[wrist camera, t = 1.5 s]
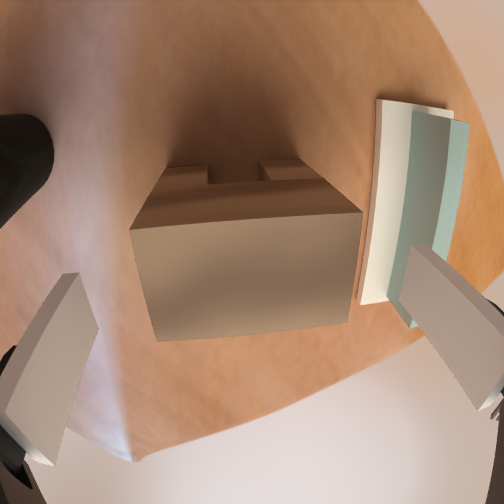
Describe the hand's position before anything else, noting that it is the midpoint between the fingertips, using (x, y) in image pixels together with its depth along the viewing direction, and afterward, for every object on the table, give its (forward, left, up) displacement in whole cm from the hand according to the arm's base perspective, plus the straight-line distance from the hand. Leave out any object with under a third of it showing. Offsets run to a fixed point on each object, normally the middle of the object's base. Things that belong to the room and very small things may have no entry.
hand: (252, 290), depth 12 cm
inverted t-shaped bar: (+1, +12, -9) cm, 15 cm away
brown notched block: (0, 0, -9) cm, 9 cm away
